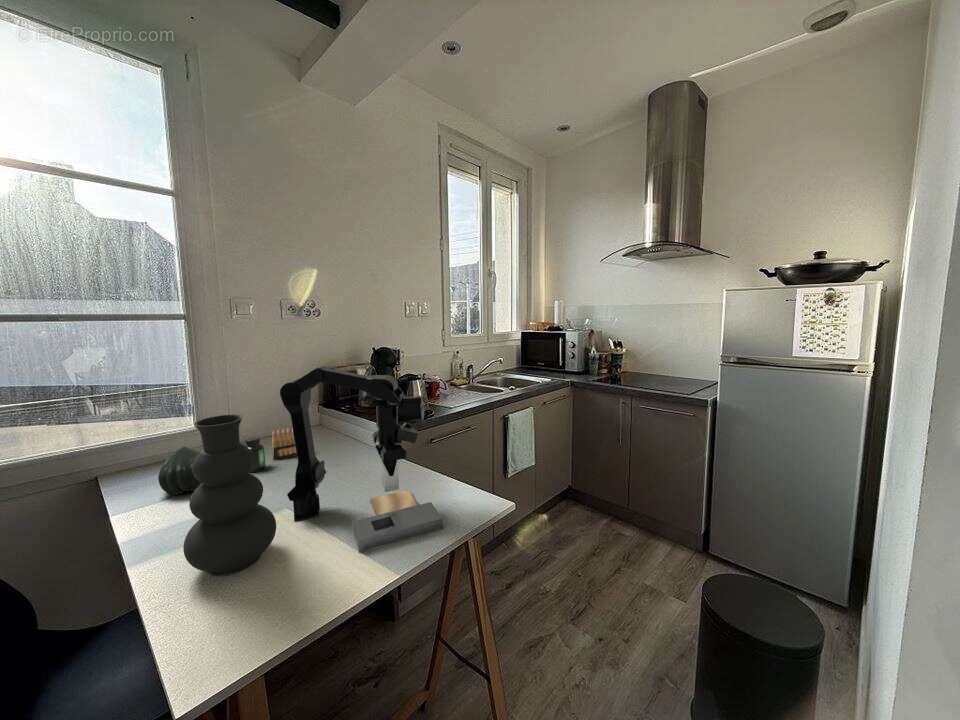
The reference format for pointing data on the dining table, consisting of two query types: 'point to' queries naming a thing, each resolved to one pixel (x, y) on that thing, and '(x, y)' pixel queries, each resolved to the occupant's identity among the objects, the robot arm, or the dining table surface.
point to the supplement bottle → (256, 453)
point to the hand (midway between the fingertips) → (389, 472)
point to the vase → (226, 502)
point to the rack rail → (396, 526)
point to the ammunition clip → (283, 445)
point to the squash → (179, 472)
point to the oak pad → (392, 502)
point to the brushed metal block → (390, 479)
